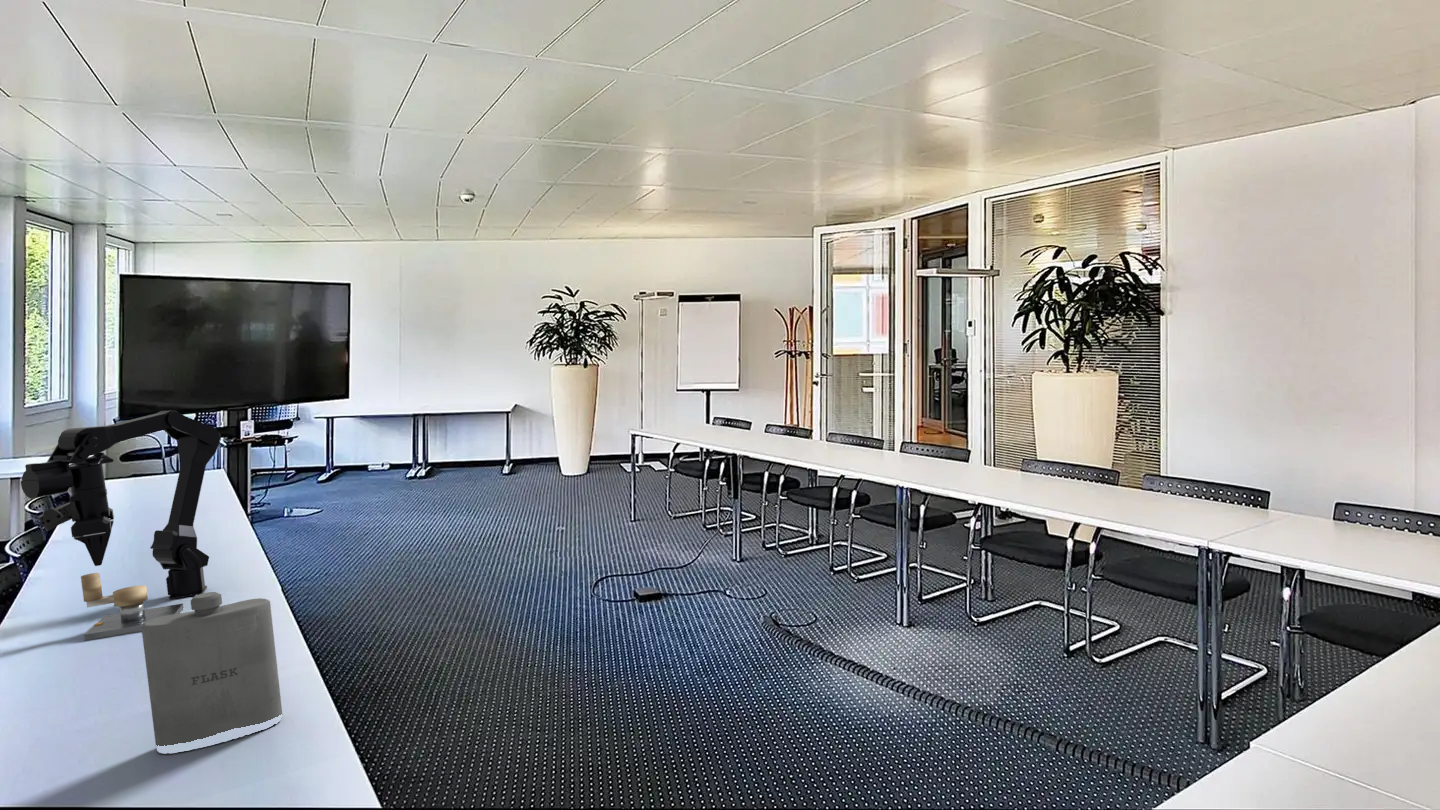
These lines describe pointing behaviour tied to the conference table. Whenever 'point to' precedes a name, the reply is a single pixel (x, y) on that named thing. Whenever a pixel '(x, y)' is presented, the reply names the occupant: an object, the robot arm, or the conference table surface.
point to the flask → (211, 669)
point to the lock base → (128, 626)
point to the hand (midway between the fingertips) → (99, 561)
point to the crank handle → (119, 597)
